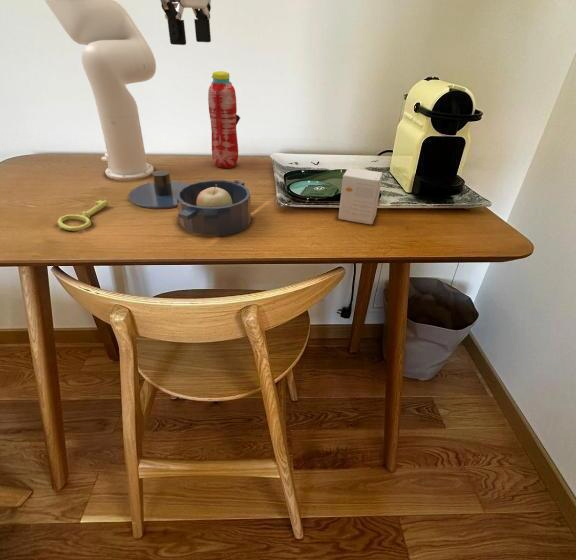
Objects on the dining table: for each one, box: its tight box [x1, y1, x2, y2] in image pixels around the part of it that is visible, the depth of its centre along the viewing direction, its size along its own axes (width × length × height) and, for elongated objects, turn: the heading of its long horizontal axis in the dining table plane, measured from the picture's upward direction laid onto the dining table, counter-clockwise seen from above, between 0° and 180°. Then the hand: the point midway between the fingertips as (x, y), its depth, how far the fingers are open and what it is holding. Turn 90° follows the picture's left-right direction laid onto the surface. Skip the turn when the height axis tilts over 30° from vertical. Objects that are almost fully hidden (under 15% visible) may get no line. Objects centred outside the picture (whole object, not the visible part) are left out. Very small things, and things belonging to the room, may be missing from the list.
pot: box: [177, 179, 252, 238], centre depth 86 cm, size 15×21×6 cm
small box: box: [337, 167, 383, 225], centre depth 89 cm, size 8×6×10 cm
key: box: [57, 199, 110, 232], centre depth 86 cm, size 7×12×2 cm, turn 177°
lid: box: [128, 169, 189, 210], centre depth 96 cm, size 16×16×6 cm
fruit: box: [196, 184, 232, 207], centre depth 86 cm, size 8×7×8 cm
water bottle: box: [207, 70, 241, 169], centre depth 112 cm, size 12×8×25 cm, turn 167°
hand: (191, 43), depth 80 cm, fingers open, 9 cm apart
